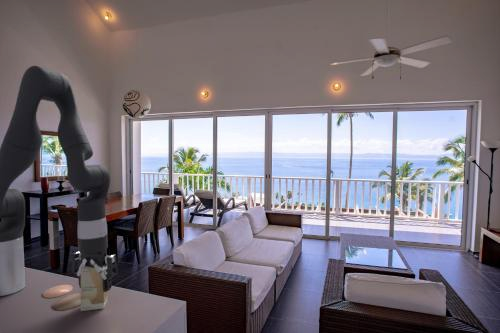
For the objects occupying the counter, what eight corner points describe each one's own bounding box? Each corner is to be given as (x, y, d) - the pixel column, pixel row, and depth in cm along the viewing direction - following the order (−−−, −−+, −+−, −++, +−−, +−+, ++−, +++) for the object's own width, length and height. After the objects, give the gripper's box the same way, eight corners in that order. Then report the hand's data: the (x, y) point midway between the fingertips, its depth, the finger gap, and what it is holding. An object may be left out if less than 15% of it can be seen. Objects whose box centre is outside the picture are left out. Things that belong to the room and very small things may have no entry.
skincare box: (80, 312, 81) (78, 269, 81) (84, 304, 86) (83, 263, 85) (105, 308, 83) (103, 267, 83) (108, 301, 87) (107, 261, 87)
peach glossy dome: (36, 296, 91) (36, 294, 91) (60, 285, 99) (60, 283, 99) (56, 300, 89) (55, 297, 89) (78, 288, 96) (78, 286, 96)
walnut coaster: (45, 308, 84) (45, 305, 84) (72, 294, 93) (72, 291, 93) (69, 313, 81) (69, 310, 81) (95, 298, 90) (94, 295, 90)
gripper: (62, 236, 82) (64, 292, 83) (102, 239, 78) (105, 298, 78) (84, 229, 89) (86, 280, 90) (122, 232, 85) (124, 286, 86)
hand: (95, 288), depth 84 cm, fingers open, 8 cm apart
